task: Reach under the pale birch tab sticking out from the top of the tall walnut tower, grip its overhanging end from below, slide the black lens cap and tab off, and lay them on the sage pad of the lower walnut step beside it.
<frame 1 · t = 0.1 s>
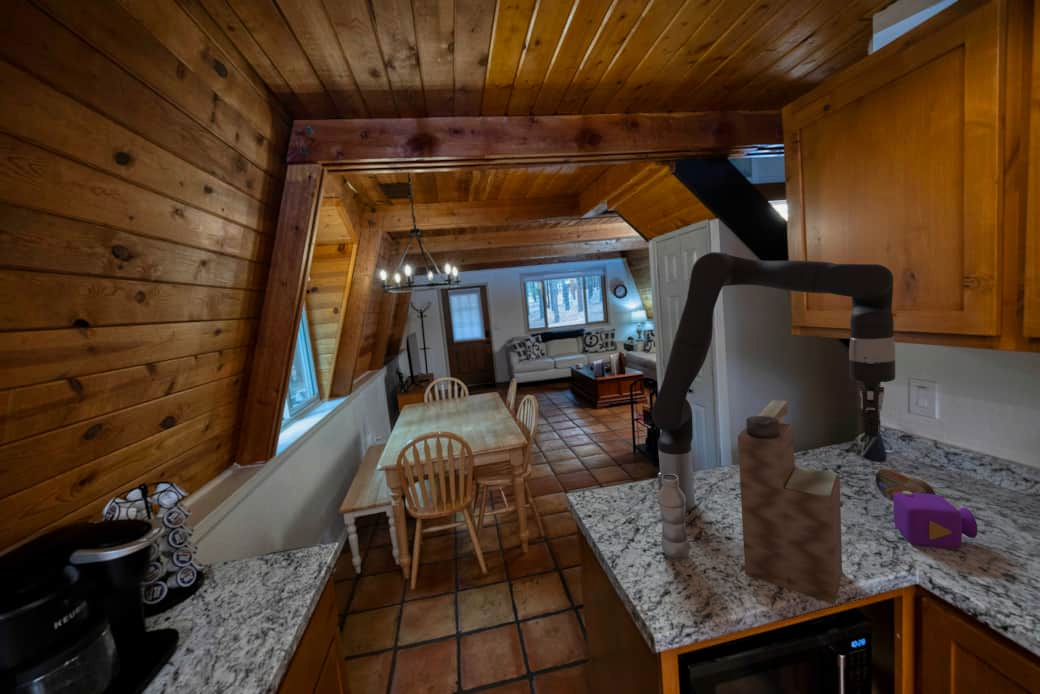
hand: (872, 430, 90), 29 cm above the counter, tool pointing down, fingers open, 8 cm apart
step stand: (793, 573, 90), on the counter
toy camera: (934, 539, 96), on the counter
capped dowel: (765, 430, 89), point 32 cm above the counter, touching step stand
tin: (905, 504, 111), on the counter
plastic bottle: (676, 555, 100), on the counter
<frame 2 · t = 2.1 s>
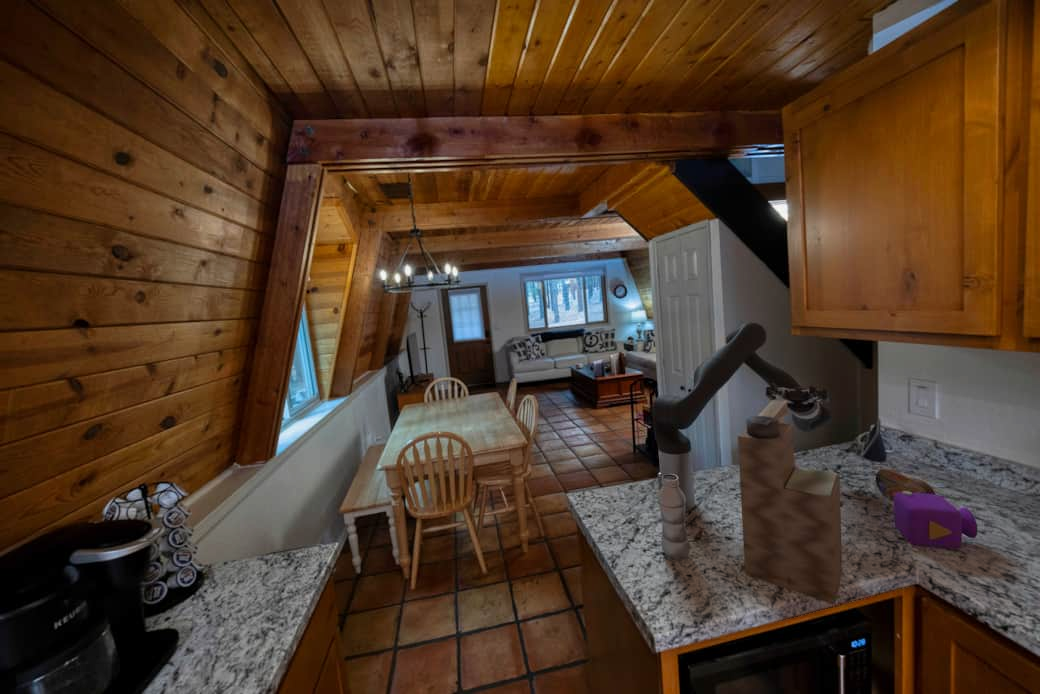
hand: (791, 387, 109), 35 cm above the counter, tool pointing upward, fingers open, 8 cm apart
nothing on the counter moved.
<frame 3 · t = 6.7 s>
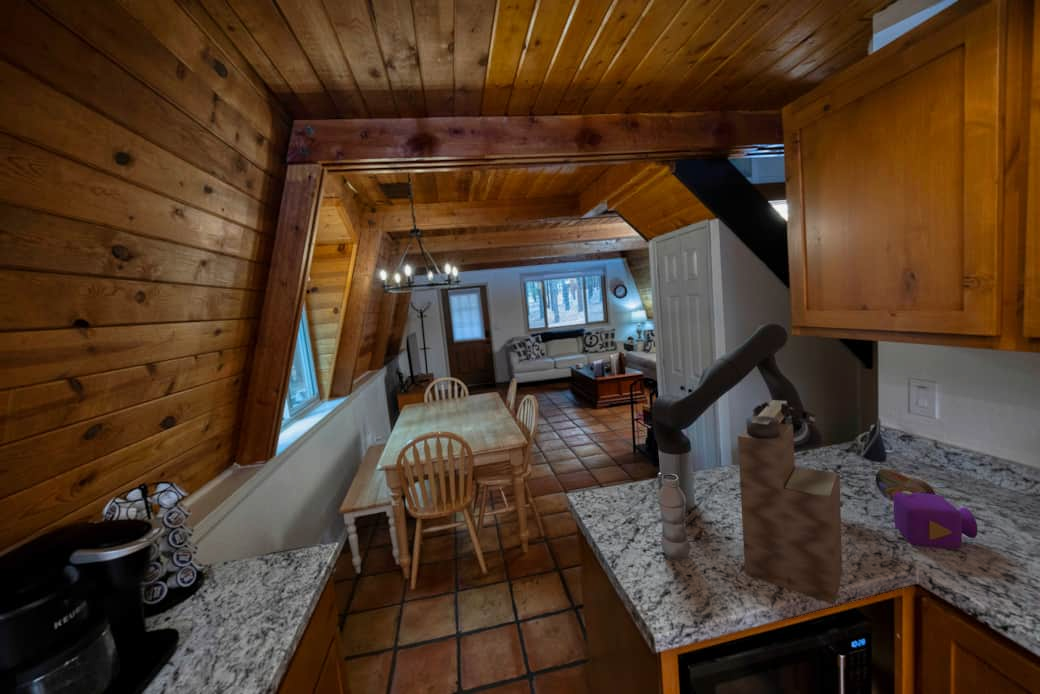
hand: (774, 407, 95), 35 cm above the counter, tool pointing upward, fingers closed on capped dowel, 3 cm apart
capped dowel: (765, 430, 89), point 32 cm above the counter, touching gripper, step stand
everything else where it was.
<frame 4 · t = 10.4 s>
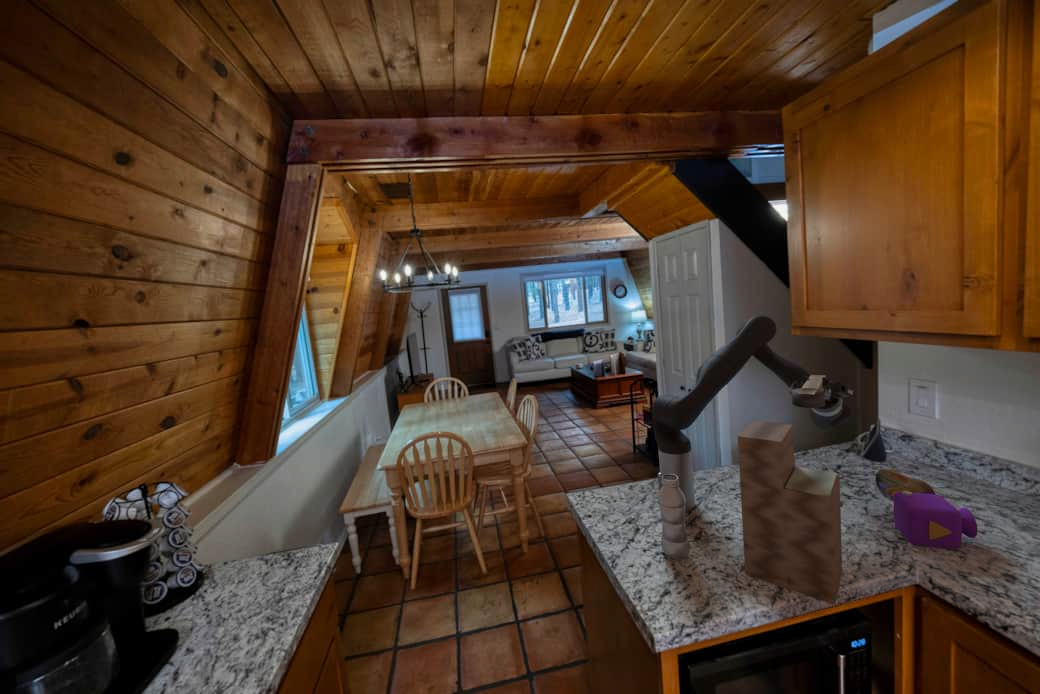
hand: (815, 380, 99), 39 cm above the counter, tool pointing upward, fingers closed on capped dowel, 3 cm apart
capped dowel: (809, 401, 93), point 36 cm above the counter, touching gripper
everything else where it was.
when the fingers open (26 cm above the counter, at t = 14.0 s): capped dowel stays where it is, resting on step stand.
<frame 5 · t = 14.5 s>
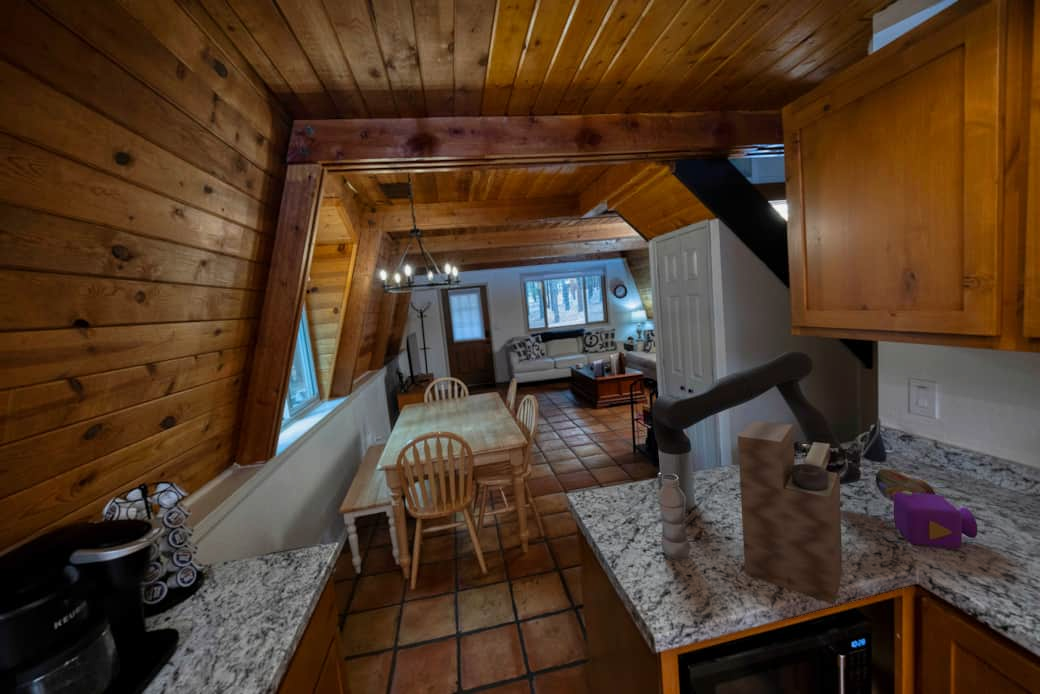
hand: (818, 448, 91), 26 cm above the counter, tool pointing upward, fingers open, 7 cm apart
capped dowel: (811, 479, 85), point 22 cm above the counter, touching step stand
everything else where it was.
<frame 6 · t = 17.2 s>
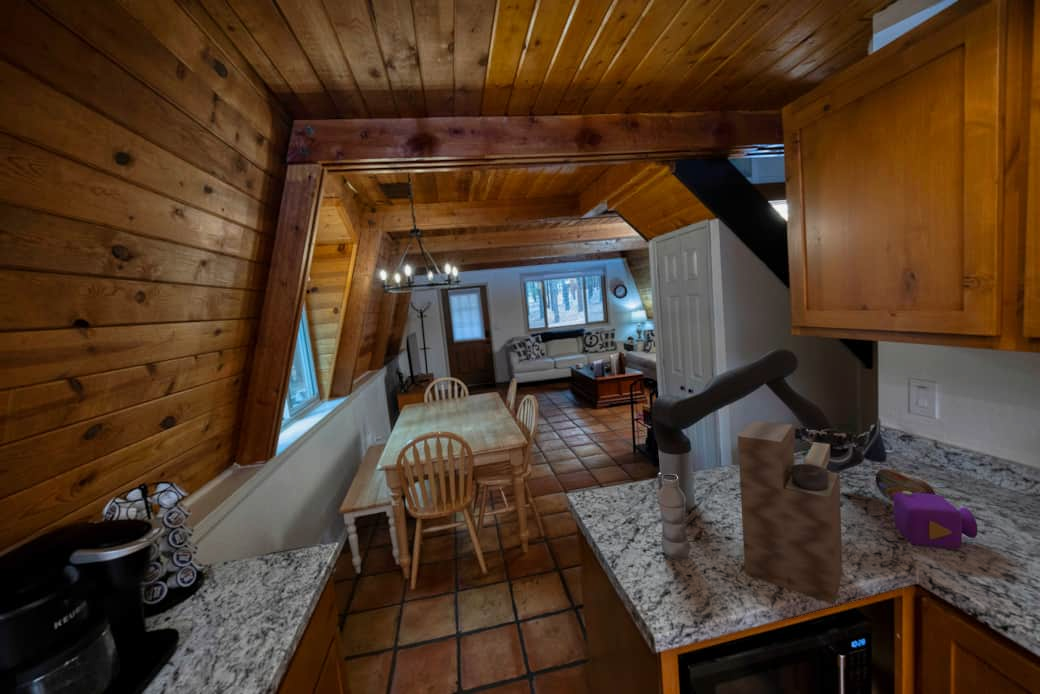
hand: (825, 433, 99), 26 cm above the counter, tool pointing upward, fingers open, 8 cm apart
nothing on the counter moved.
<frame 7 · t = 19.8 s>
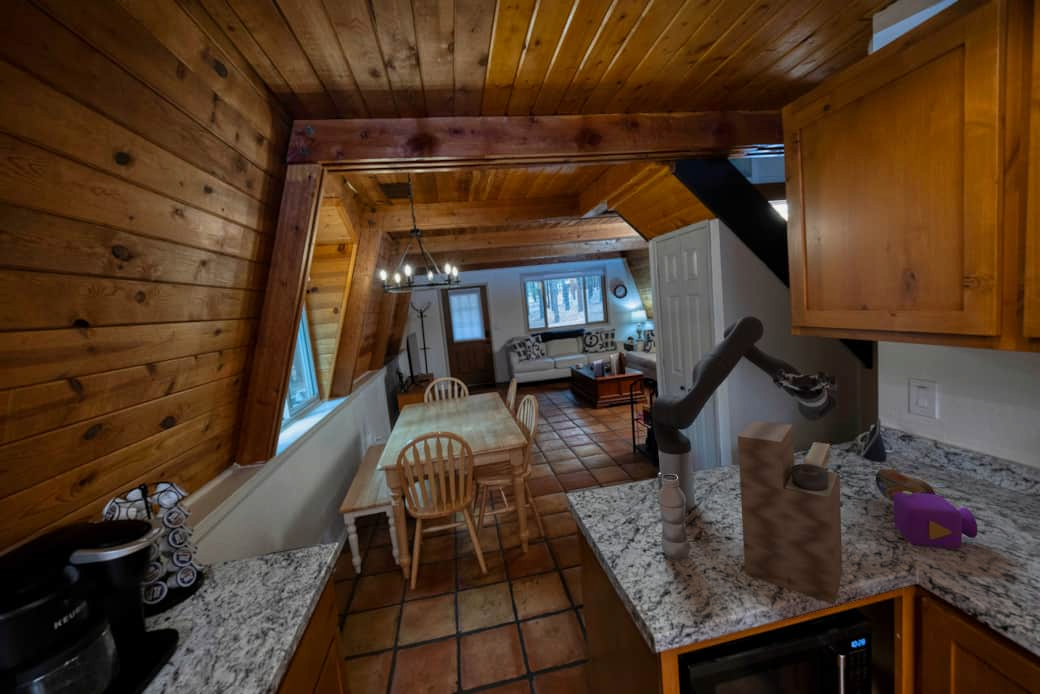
hand: (799, 373, 108), 39 cm above the counter, tool pointing upward, fingers open, 8 cm apart
nothing on the counter moved.
at the end: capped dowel 0.1 cm from the target spot on the step stand, point 22.5 cm above the step stand's base; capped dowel tilted 0°; the gripper is holding nothing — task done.
